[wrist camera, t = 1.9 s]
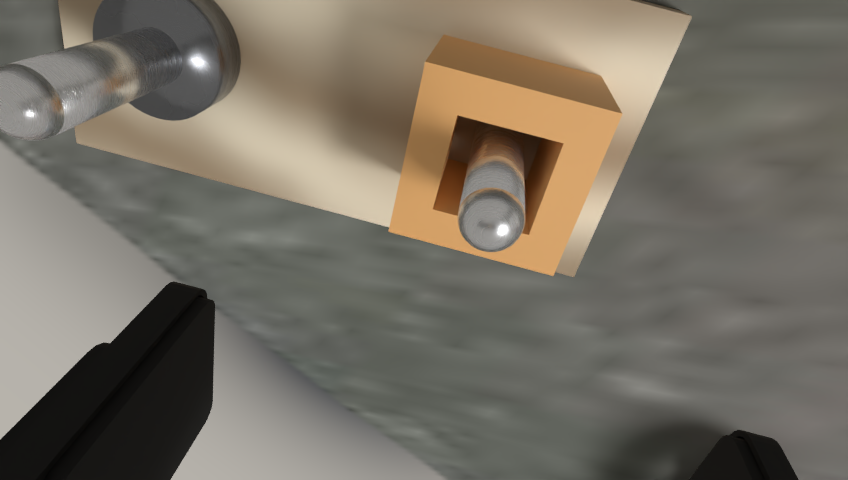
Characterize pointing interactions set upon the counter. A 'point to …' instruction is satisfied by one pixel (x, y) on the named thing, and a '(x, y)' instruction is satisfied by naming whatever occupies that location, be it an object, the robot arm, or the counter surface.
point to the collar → (513, 109)
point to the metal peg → (125, 68)
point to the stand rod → (493, 189)
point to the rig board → (381, 93)
